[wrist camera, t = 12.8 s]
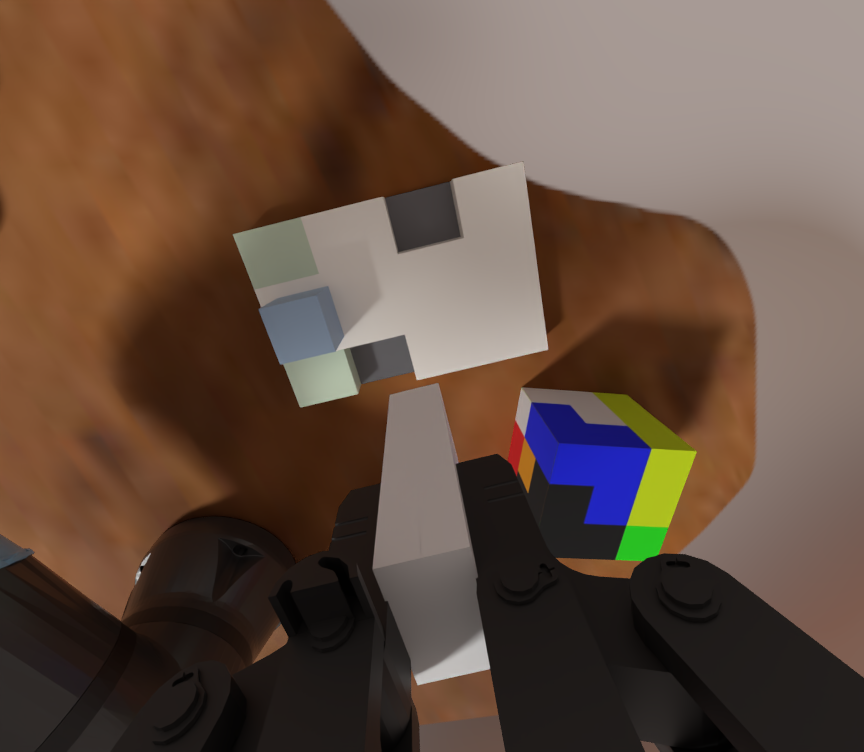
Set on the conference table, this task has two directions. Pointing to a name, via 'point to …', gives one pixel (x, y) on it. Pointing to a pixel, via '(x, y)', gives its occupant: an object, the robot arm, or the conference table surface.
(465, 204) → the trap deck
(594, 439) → the puzzle toy
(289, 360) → the block
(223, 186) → the conference table surface
